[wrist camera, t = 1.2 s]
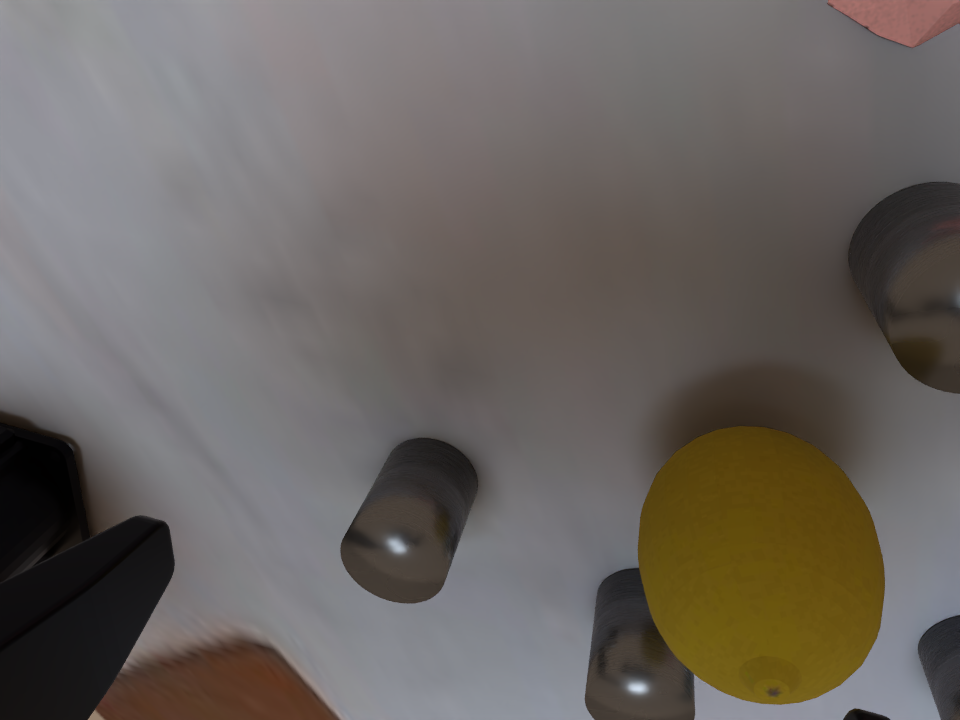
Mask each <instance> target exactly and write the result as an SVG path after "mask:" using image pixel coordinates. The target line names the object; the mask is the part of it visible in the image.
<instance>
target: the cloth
mask: <svg viewBox="0 0 960 720" xmlns="http://www.w3.org/2000/svg"><path fill="white" fill-rule="evenodd" d="M827 4H828V5H830V6H832V7H833V8H835V9H837V10H839V11H840V12H842V13H844V14H845V15H847V16H849V17H850V18H852V19H853V20H855V21H857V22H858V23H860V24H861V25H863V26H864V27H866V28H867V29H869V30H871V31H872V32H874V33H875V34H877V35H878V36H881V37H884V38H887V39H889V40H892V41H895V42H898V43H901V44H903V45H906V46H909V47H912V48H913V47H916V46H918V45H920V44H922V43H924V42H925V41H927V40H929V39H931V38H933V37H934V36H936V35H938V34H940V33H942V32H944V31H945V30H947V29H949V28H951V27H953V26H954V25H956V24H958V23H959V24H960V0H828V3H827Z"/></svg>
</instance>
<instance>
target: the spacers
mask: <svg viewBox="0 0 960 720" xmlns="http://www.w3.org/2000/svg"><path fill="white" fill-rule="evenodd" d="M849 266H850V270H851V274H852V276H853V279H854V281H855V283H856V284H857V286H858V288H859V290H860V292H861V294H862V295H863V297H864V299H865V301H866V303H867V305H868V306H869V308H870V310H871V312H872V314H873V316H874V317H875V319H876V321H877V323H878V325H879V327H880V328H881V330H882V332H883V334H884V336H885V338H886V339H887V341H888V343H889V345H890V347H891V349H892V350H893V352H894V354H895V356H896V358H897V359H898V361H899V363H900V364H901V366H902V367H903V368H904V369H905V370H906V371H907V372H908V373H909V374H910V375H911V376H913V377H914V378H915V379H916V380H918V381H920V382H921V383H923V384H925V385H927V386H930V387H932V388H935V389H938V390H941V391H945V392H951V393H958V394H960V185H959V184H955V183H947V182H932V183H924V184H919V185H915V186H911V187H908V188H905V189H903V190H901V191H898V192H896V193H894V194H892V195H891V196H889V197H887V198H886V199H884V200H883V201H881V202H880V203H879V204H877V205H876V206H875V207H874V208H873V209H872V210H871V211H870V212H869V213H868V214H867V215H866V216H865V217H864V218H863V220H862V221H861V223H860V224H859V226H858V227H857V229H856V231H855V233H854V235H853V238H852V241H851V245H850V249H849ZM477 488H478V480H477V475H476V473H475V470H474V468H473V466H472V465H471V463H470V462H469V460H468V459H467V458H466V457H465V456H464V455H463V454H462V453H461V452H459V451H458V450H457V449H455V448H454V447H452V446H450V445H448V444H446V443H444V442H441V441H438V440H433V439H426V438H418V439H412V440H408V441H406V442H403V443H401V444H400V445H398V446H397V447H396V448H395V449H394V450H393V451H392V452H391V454H390V455H389V457H388V459H387V461H386V463H385V464H384V466H383V468H382V470H381V472H380V473H379V475H378V477H377V479H376V481H375V482H374V484H373V486H372V488H371V489H370V491H369V493H368V495H367V497H366V498H365V500H364V502H363V504H362V506H361V507H360V509H359V511H358V513H357V515H356V516H355V518H354V520H353V522H352V524H351V525H350V527H349V529H348V531H347V533H346V534H345V536H344V538H343V540H342V543H341V558H342V561H343V564H344V566H345V568H346V570H347V572H348V573H349V575H350V576H351V577H352V578H353V579H354V580H355V581H356V582H357V583H358V584H359V585H360V586H361V587H363V588H364V589H365V590H367V591H368V592H370V593H372V594H374V595H376V596H378V597H380V598H383V599H386V600H389V601H393V602H398V603H418V602H422V601H426V600H428V599H430V598H432V597H433V596H435V595H436V594H437V593H438V592H439V591H440V590H441V588H442V587H443V585H444V582H445V579H446V577H447V574H448V571H449V568H450V566H451V563H452V560H453V557H454V554H455V552H456V549H457V546H458V543H459V541H460V538H461V535H462V532H463V529H464V527H465V524H466V521H467V518H468V515H469V513H470V510H471V507H472V504H473V502H474V499H475V496H476V493H477ZM918 654H919V658H920V661H921V663H922V666H923V669H924V672H925V675H926V678H927V681H928V684H929V686H930V689H931V692H932V695H933V698H934V701H935V704H936V707H937V709H938V712H939V715H940V718H941V720H960V616H958V617H954V618H951V619H948V620H945V621H943V622H941V623H939V624H937V625H935V626H934V627H932V628H931V629H930V630H928V631H927V632H926V633H925V635H924V636H923V637H922V639H921V641H920V643H919V647H918ZM585 703H586V707H587V709H588V711H589V713H590V714H591V716H592V717H593V718H594V719H595V720H694V717H695V700H694V674H693V673H692V672H691V671H690V670H689V669H688V668H687V667H686V666H685V665H684V664H683V663H682V662H680V661H679V660H678V659H677V657H676V656H675V655H674V654H673V652H672V651H671V650H670V648H669V647H668V645H667V644H666V642H665V641H664V639H663V637H662V636H661V634H660V633H659V631H658V629H657V627H656V625H655V623H654V621H653V618H652V615H651V613H650V610H649V606H648V603H647V599H646V595H645V591H644V587H643V583H642V579H641V574H640V570H639V569H630V570H624V571H621V572H618V573H615V574H613V575H611V576H609V577H608V578H607V579H605V581H604V582H603V583H602V584H601V585H600V587H599V589H598V592H597V599H596V607H595V616H594V624H593V633H592V641H591V650H590V658H589V667H588V675H587V684H586V692H585Z"/></svg>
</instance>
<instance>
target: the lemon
mask: <svg viewBox="0 0 960 720" xmlns="http://www.w3.org/2000/svg"><path fill="white" fill-rule="evenodd" d="M638 561H639V570H640V574H641V579H642V583H643V587H644V591H645V595H646V599H647V603H648V606H649V610H650V613H651V615H652V618H653V621H654V623H655V625H656V627H657V629H658V631H659V633H660V634H661V636H662V637H663V639H664V641H665V642H666V644H667V645H668V647H669V648H670V650H671V651H672V652H673V654H674V655H675V656H676V657H677V659H678V660H679V661H680V662H682V663H683V664H684V665H685V666H686V667H687V668H688V669H689V670H690V671H691V672H692V673H693V674H695V675H696V676H697V677H698V678H700V679H701V680H703V681H704V682H706V683H708V684H709V685H711V686H713V687H714V688H716V689H718V690H720V691H722V692H724V693H726V694H728V695H731V696H734V697H736V698H739V699H742V700H746V701H751V702H756V703H761V704H779V705H781V704H790V703H799V702H803V701H806V700H810V699H813V698H817V697H819V696H821V695H823V694H824V693H826V692H828V691H830V690H832V689H834V688H836V687H838V686H840V685H841V684H842V683H843V682H844V681H845V680H846V679H847V678H849V677H850V676H851V675H852V674H853V673H854V672H855V671H856V670H857V669H858V668H859V667H860V666H861V665H862V664H863V662H864V660H865V659H866V657H867V655H868V653H869V652H870V650H871V648H872V646H873V644H874V642H875V640H876V639H877V636H878V632H879V629H880V624H881V616H882V608H883V601H884V591H885V575H884V564H883V558H882V553H881V549H880V545H879V541H878V537H877V533H876V530H875V526H874V522H873V519H872V517H871V514H870V512H869V510H868V508H867V506H866V504H865V502H864V501H863V499H862V498H861V496H860V495H859V493H858V492H857V490H856V489H855V487H854V486H853V484H852V483H851V481H850V480H849V478H848V477H847V476H846V474H845V473H844V472H843V471H842V469H841V468H840V467H839V466H838V465H837V464H836V463H834V462H833V461H832V460H831V459H830V458H828V457H827V456H826V455H825V454H824V453H822V452H821V451H820V450H819V449H817V448H816V447H815V446H813V445H812V444H810V443H808V442H806V441H803V440H801V439H799V438H797V437H795V436H793V435H791V434H789V433H786V432H783V431H778V430H774V429H770V428H766V427H754V426H737V427H730V428H724V429H718V430H715V431H712V432H710V433H707V434H705V435H702V436H699V437H697V438H695V439H694V440H693V441H691V442H690V443H688V444H687V445H685V446H684V447H682V448H681V449H679V450H678V451H676V452H675V453H674V454H673V456H672V457H671V458H670V459H669V460H668V461H667V462H666V464H665V465H664V466H663V467H662V468H661V469H660V471H659V472H658V473H657V475H656V477H655V479H654V481H653V483H652V485H651V488H650V490H649V492H648V494H647V497H646V499H645V502H644V505H643V508H642V512H641V517H640V528H639V540H638Z"/></svg>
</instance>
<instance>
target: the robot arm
mask: <svg viewBox="0 0 960 720" xmlns="http://www.w3.org/2000/svg"><path fill="white" fill-rule="evenodd" d="M174 566H175V560H174V554H173V548H172V542H171V536H170V530H169V526H168V525H167V524H166V522H164V521H162V520H158V519H154V518H150V517H147V516H141V515H140V516H135V517H132V518H130V519H128V520H126V521H124V522H122V523H120V524H117V525H115V526H113V527H111V528H109V529H107V530H105V531H103V532H101V533H99V534H97V535H95V536H93V537H91V538H90V535H89V530H88V525H87V520H86V515H85V510H84V505H83V499H82V494H81V489H80V484H79V479H78V474H77V469H76V464H75V459H74V454H73V451H72V449H71V448H70V446H69V445H67V444H66V443H65V442H63V441H61V440H58V439H54V438H51V437H47V436H44V435H40V434H37V433H33V432H30V431H26V430H23V429H19V428H16V427H12V426H9V425H5V424H2V423H0V720H88V718H89V717H90V715H91V714H92V713H93V711H94V710H95V708H96V707H97V705H98V704H99V703H100V701H101V700H102V698H103V697H104V695H105V694H106V692H107V691H108V689H109V688H110V686H111V685H112V683H113V682H114V680H115V678H116V677H117V675H118V673H119V671H120V670H121V668H122V666H123V665H124V663H125V661H126V659H127V658H128V656H129V654H130V652H131V650H132V649H133V647H134V645H135V643H136V641H137V640H138V638H139V636H140V634H141V632H142V631H143V629H144V627H145V625H146V623H147V622H148V620H149V618H150V616H151V614H152V613H153V611H154V609H155V607H156V605H157V604H158V602H159V600H160V598H161V596H162V595H163V593H164V591H165V589H166V587H167V586H168V584H169V582H170V580H171V578H172V575H173V572H174ZM843 720H890V719H889V718H887V717H885V716H883V715H880V714H876V713H872V712H868V711H865V710H861V709H853V710H850V711H849V712H848V713H847V714H846V716H845V718H844V719H843Z"/></svg>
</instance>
